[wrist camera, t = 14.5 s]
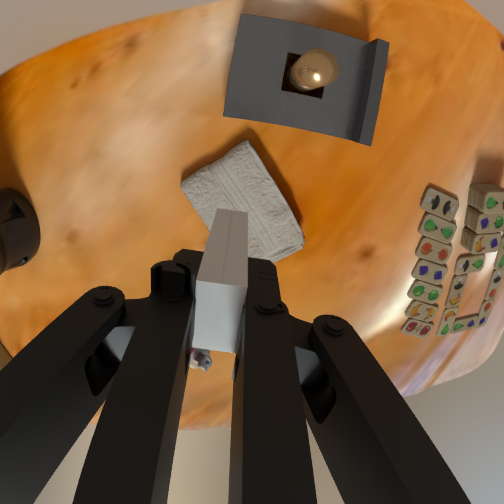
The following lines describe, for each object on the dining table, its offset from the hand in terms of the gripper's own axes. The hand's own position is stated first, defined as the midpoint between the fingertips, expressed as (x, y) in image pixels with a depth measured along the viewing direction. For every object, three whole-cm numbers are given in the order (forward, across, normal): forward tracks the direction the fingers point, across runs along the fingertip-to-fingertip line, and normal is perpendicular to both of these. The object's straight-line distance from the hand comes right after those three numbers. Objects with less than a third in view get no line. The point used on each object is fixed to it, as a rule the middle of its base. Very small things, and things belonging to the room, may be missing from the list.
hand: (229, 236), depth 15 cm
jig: (+28, -6, -12) cm, 31 cm away
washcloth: (+29, -2, +8) cm, 30 cm away
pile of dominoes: (+29, -46, +12) cm, 56 cm away
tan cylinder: (+28, -6, -12) cm, 31 cm away
